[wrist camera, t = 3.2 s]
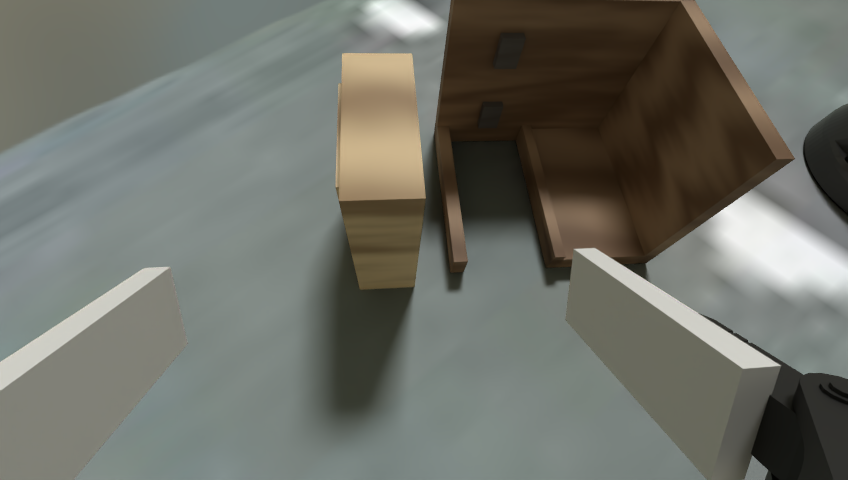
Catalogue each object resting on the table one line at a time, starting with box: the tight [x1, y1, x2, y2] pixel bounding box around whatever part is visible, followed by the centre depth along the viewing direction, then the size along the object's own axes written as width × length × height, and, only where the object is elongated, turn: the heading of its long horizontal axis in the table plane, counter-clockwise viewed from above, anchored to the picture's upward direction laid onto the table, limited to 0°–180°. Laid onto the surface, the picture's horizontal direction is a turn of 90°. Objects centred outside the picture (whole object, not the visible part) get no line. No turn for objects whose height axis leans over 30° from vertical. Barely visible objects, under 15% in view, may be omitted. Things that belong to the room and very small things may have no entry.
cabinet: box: [434, 0, 795, 273], centre depth 28 cm, size 14×16×13 cm
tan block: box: [336, 53, 426, 290], centre depth 26 cm, size 10×4×12 cm, turn 5°
